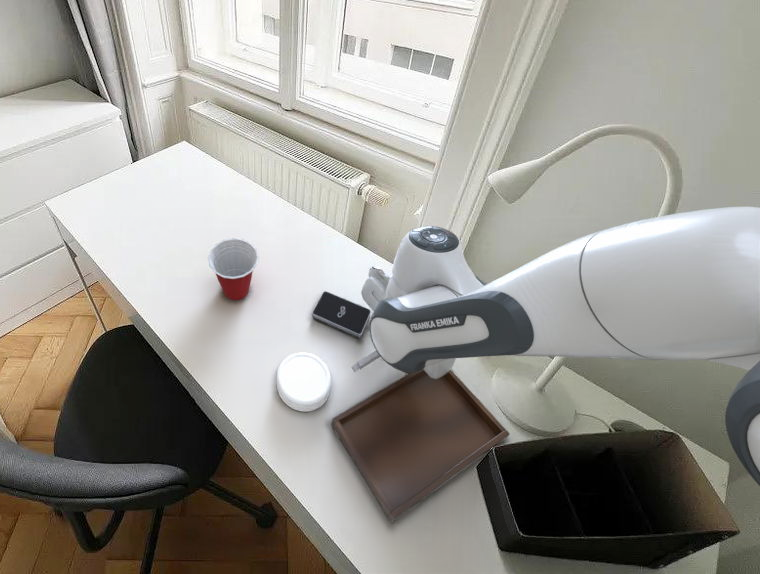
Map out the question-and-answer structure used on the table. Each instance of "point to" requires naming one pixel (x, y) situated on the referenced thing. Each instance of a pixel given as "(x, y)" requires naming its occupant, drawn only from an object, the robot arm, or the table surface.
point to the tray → (416, 437)
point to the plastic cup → (233, 266)
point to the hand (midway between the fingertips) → (395, 345)
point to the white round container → (303, 381)
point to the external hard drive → (341, 314)
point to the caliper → (365, 361)
